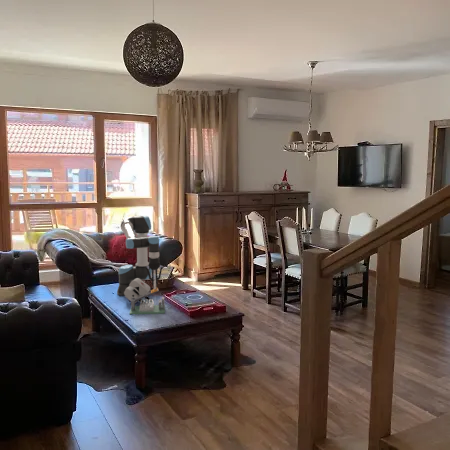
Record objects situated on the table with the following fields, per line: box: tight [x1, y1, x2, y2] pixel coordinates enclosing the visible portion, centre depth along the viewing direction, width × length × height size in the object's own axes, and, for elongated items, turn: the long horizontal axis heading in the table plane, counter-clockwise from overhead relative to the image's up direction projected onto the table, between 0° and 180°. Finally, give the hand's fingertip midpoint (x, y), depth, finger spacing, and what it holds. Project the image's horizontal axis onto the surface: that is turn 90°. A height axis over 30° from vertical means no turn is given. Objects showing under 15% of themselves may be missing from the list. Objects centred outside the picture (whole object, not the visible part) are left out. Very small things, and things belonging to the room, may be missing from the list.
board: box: [129, 304, 166, 315], centre depth 342 cm, size 16×25×1 cm, turn 97°
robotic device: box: [124, 278, 152, 305], centre depth 358 cm, size 10×21×20 cm
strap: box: [133, 286, 159, 302], centre depth 340 cm, size 6×21×2 cm, turn 97°
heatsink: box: [139, 298, 155, 312], centre depth 341 cm, size 12×10×6 cm
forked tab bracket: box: [130, 298, 136, 311], centre depth 340 cm, size 7×2×8 cm, turn 7°
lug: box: [158, 296, 165, 310], centre depth 342 cm, size 6×4×8 cm
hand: (154, 288), depth 340 cm, fingers closed
